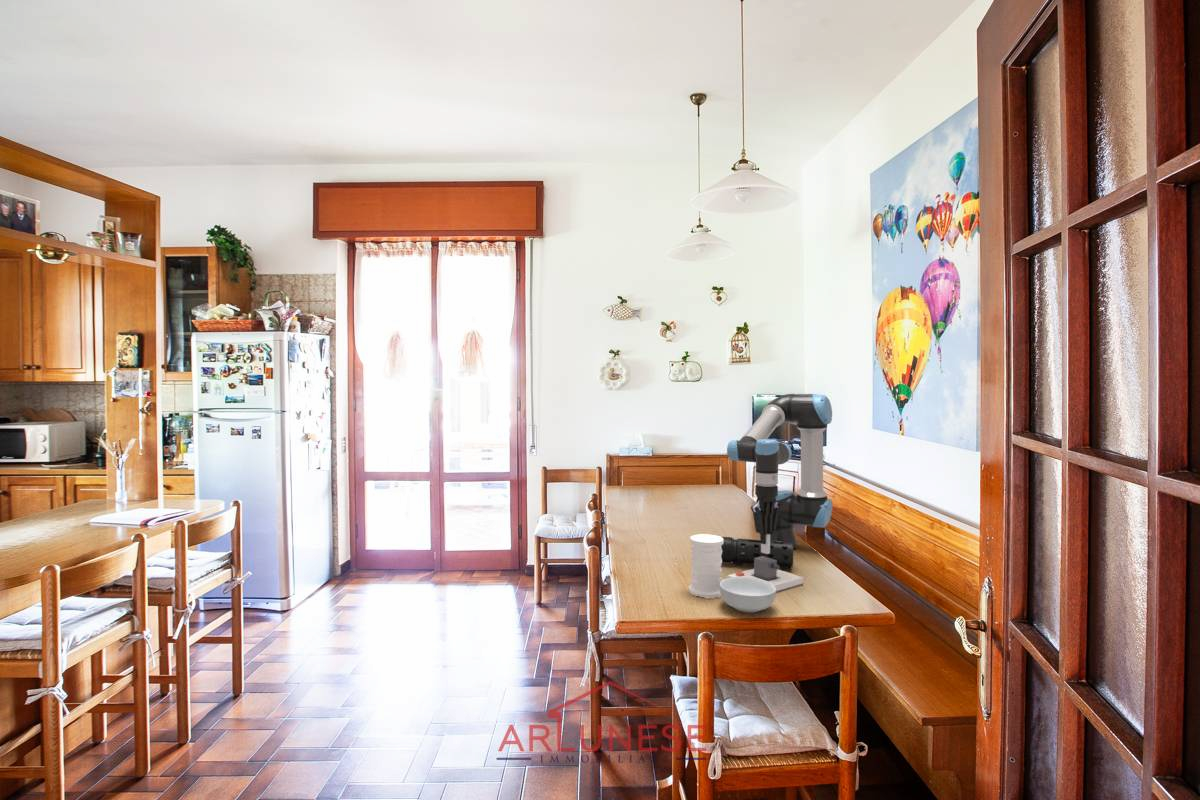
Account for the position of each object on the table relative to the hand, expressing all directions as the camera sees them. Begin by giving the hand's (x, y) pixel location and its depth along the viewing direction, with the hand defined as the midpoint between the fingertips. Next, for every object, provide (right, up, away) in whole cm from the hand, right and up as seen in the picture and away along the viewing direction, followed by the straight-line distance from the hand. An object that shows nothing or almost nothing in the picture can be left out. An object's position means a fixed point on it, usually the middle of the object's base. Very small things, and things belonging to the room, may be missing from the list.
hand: (765, 552), depth 208 cm
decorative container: (-22, -11, -8) cm, 26 cm away
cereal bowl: (-12, -12, -22) cm, 27 cm away
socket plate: (0, -11, +1) cm, 11 cm away
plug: (+1, -10, -1) cm, 10 cm away
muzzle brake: (+1, -11, +20) cm, 23 cm away
